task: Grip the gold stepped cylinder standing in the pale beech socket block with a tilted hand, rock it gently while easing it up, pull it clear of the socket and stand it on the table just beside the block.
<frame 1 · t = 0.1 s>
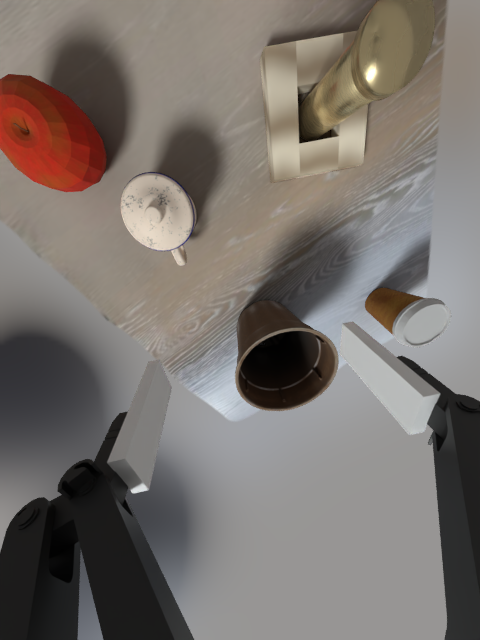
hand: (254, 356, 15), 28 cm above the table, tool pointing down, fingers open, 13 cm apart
plant pot: (264, 324, 47), on the table
socket block: (311, 119, 32), on the table
teacup with lid: (173, 223, 36), on the table
apple: (80, 153, 30), on the table
disposable coffee cup: (377, 300, 48), on the table
gold stepped cylinder: (341, 91, 24), in the socket block
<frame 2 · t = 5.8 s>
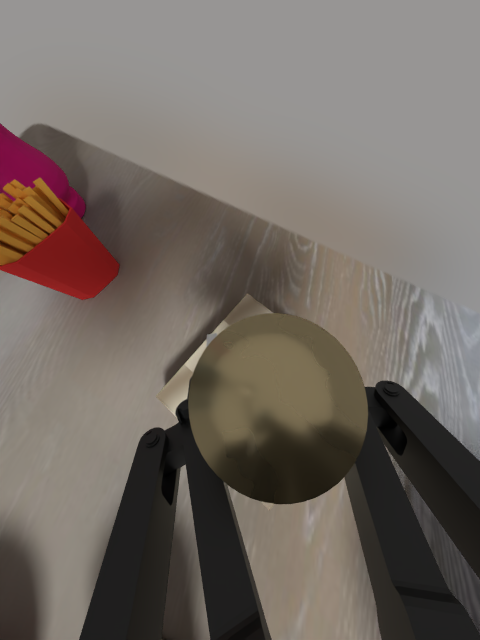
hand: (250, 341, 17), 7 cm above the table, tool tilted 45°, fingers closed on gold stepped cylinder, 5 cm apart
french fries: (96, 279, 27), on the table
socket block: (255, 386, 23), on the table
pepper mill: (65, 212, 31), on the table
gold stepped cylinder: (260, 389, 15), in the socket block, touching gripper
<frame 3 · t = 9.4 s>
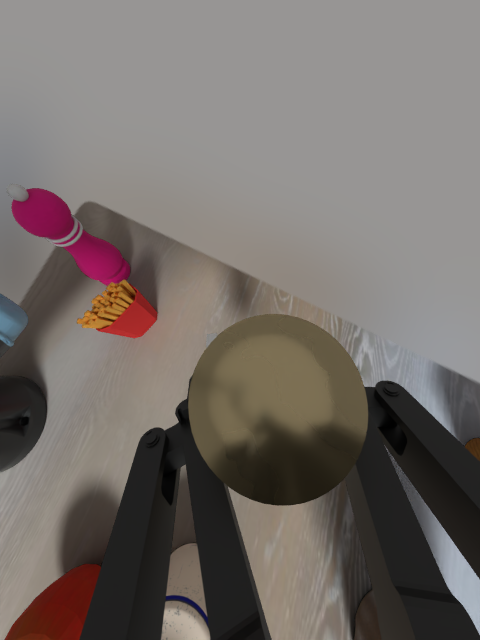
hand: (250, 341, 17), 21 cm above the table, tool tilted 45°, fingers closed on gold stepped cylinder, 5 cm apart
plant pot: (400, 638, 27), on the table
french fries: (142, 323, 40), on the table
pepper mill: (116, 273, 43), on the table
teacup with lid: (200, 586, 29), on the table
apple: (94, 591, 30), on the table
gold stepped cylinder: (260, 389, 15), point 22 cm above the table, touching gripper
when the fingers open (9 cm above the table, at t = 13.2 s): gold stepped cylinder drops 1 cm, on the table.
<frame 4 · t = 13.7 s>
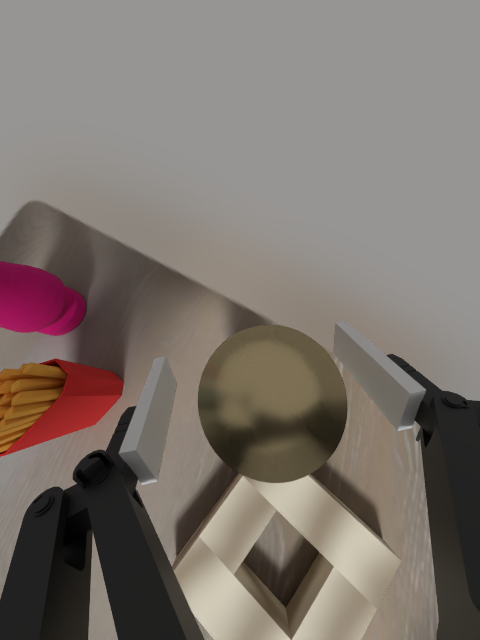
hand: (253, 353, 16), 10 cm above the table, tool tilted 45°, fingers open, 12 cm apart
french fries: (98, 400, 25), on the table
socket block: (279, 548, 20), on the table
pepper mill: (64, 312, 28), on the table
gold stepped cylinder: (259, 389, 17), on the table
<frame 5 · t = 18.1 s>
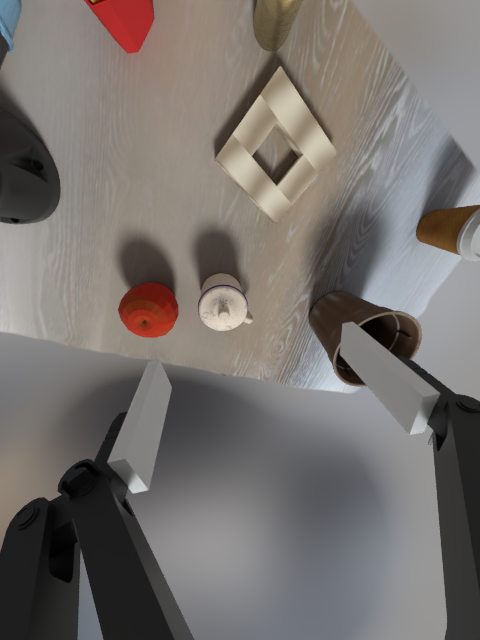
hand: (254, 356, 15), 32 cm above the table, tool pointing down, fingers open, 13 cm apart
plant pot: (332, 312, 52), on the table
french fries: (132, 24, 28), on the table
socket block: (273, 158, 36), on the table
teacup with lid: (227, 295, 47), on the table
apple: (157, 298, 46), on the table
disposable coffee cup: (429, 226, 45), on the table
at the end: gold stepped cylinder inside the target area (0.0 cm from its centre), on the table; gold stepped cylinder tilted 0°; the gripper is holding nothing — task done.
